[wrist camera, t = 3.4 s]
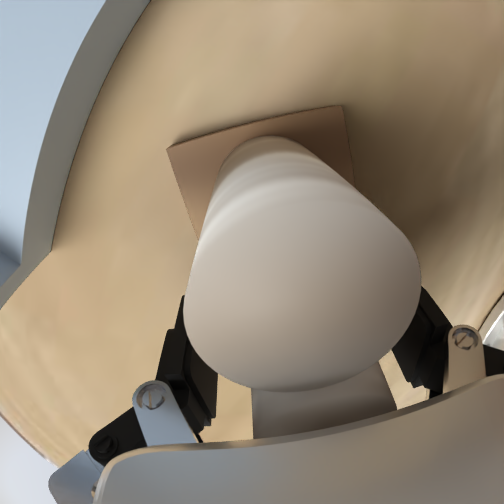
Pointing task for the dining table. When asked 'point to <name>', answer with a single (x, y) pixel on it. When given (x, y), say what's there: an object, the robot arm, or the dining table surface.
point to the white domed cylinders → (293, 271)
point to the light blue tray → (47, 112)
